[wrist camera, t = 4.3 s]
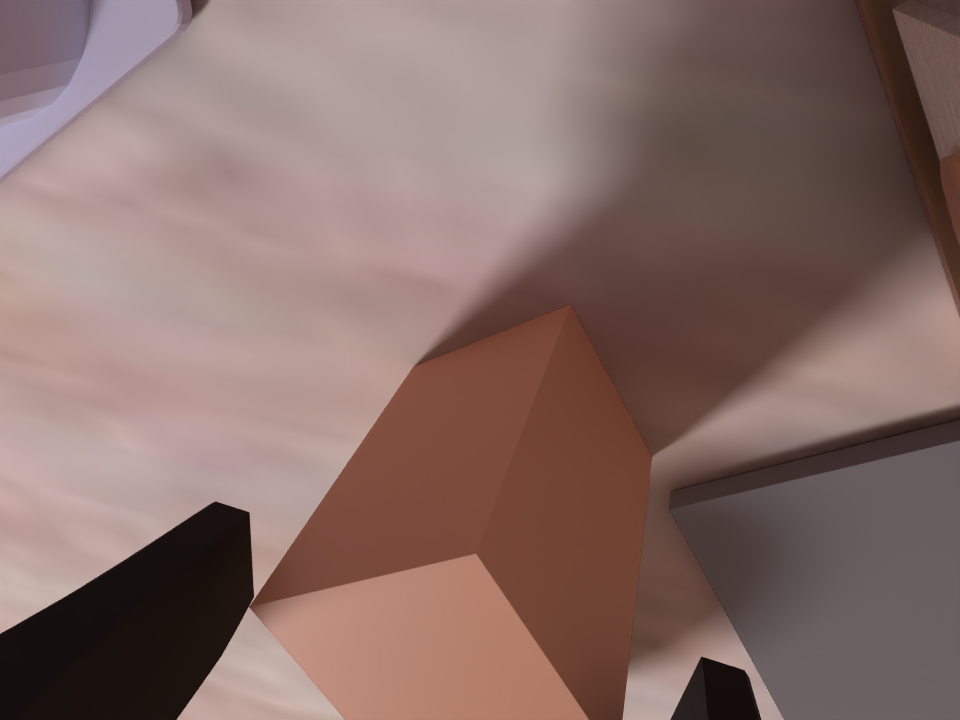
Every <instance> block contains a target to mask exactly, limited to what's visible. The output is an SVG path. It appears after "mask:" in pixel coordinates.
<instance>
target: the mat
mask: <svg viewBox="0 0 960 720" xmlns="http://www.w3.org/2000/svg"><path fill="white" fill-rule="evenodd" d="M669 510H670V512H671V514H672V515H673V517H674V519H675V521H676V523H677V525H678V526H679V528H680V530H681V532H682V534H683V536H684V537H685V539H686V541H687V543H688V545H689V547H690V548H691V550H692V552H693V554H694V556H695V557H696V559H697V561H698V563H699V565H700V567H701V568H702V570H703V572H704V574H705V576H706V578H707V579H708V581H709V583H710V585H711V587H712V589H713V590H714V592H715V594H716V596H717V598H718V600H719V601H720V603H721V605H722V607H723V609H724V610H725V612H726V614H727V616H728V618H729V620H730V621H731V623H732V625H733V627H734V629H735V631H736V632H737V634H738V636H739V638H740V640H741V642H742V643H743V645H744V647H745V649H746V651H747V653H748V654H749V656H750V658H751V660H752V662H753V663H754V665H755V667H756V669H757V671H758V673H759V674H760V676H761V678H762V680H763V682H764V684H765V685H766V687H767V689H768V691H769V693H770V695H771V696H772V698H773V700H774V702H775V704H776V705H777V707H778V709H779V711H780V713H781V715H782V716H783V718H784V720H960V420H956V421H952V422H948V423H944V424H940V425H936V426H932V427H928V428H924V429H920V430H916V431H912V432H908V433H904V434H900V435H896V436H892V437H888V438H884V439H880V440H876V441H872V442H868V443H864V444H860V445H856V446H852V447H848V448H844V449H840V450H836V451H832V452H828V453H824V454H820V455H816V456H812V457H808V458H804V459H800V460H796V461H792V462H788V463H784V464H780V465H776V466H772V467H768V468H764V469H760V470H756V471H752V472H747V473H743V474H739V475H735V476H731V477H727V478H723V479H719V480H715V481H711V482H707V483H703V484H699V485H695V486H691V487H687V488H683V489H679V490H675V491H671V492H670V507H669Z"/></svg>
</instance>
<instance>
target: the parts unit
mask: <svg viewBox="0 0 960 720" xmlns="http://www.w3.org/2000/svg"><path fill="white" fill-rule="evenodd" d="M855 2H856V5H857V8H858V11H859V14H860V17H861V20H862V23H863V26H864V29H865V32H866V35H867V38H868V41H869V44H870V47H871V50H872V53H873V56H874V59H875V62H876V65H877V68H878V71H879V74H880V77H881V80H882V83H883V86H884V89H885V92H886V95H887V98H888V102H889V105H890V108H891V111H892V114H893V117H894V120H895V123H896V126H897V129H898V132H899V135H900V138H901V141H902V144H903V147H904V150H905V153H906V156H907V159H908V162H909V165H910V168H911V171H912V174H913V177H914V180H915V183H916V186H917V189H918V192H919V195H920V198H921V201H922V204H923V207H924V210H925V213H926V216H927V219H928V222H929V225H930V228H931V231H932V234H933V238H934V241H935V244H936V247H937V250H938V253H939V256H940V259H941V262H942V265H943V268H944V271H945V274H946V277H947V280H948V283H949V286H950V289H951V292H952V295H953V298H954V301H955V304H956V307H957V310H958V313H959V316H960V0H855Z"/></svg>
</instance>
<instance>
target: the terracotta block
mask: <svg viewBox="0 0 960 720" xmlns="http://www.w3.org/2000/svg"><path fill="white" fill-rule="evenodd" d="M651 461H652V455H651V454H650V452H649V450H648V448H647V446H646V444H645V442H644V440H643V439H642V437H641V435H640V433H639V431H638V429H637V427H636V426H635V424H634V422H633V420H632V418H631V416H630V414H629V413H628V411H627V409H626V407H625V405H624V403H623V401H622V399H621V398H620V396H619V394H618V392H617V390H616V388H615V386H614V385H613V383H612V381H611V379H610V377H609V375H608V373H607V372H606V370H605V368H604V366H603V364H602V362H601V360H600V359H599V357H598V355H597V353H596V351H595V349H594V347H593V345H592V344H591V342H590V340H589V338H588V336H587V334H586V332H585V331H584V329H583V327H582V325H581V323H580V321H579V319H578V318H577V316H576V314H575V312H574V310H573V308H572V306H571V304H570V305H567V306H565V307H562V308H560V309H557V310H555V311H552V312H549V313H547V314H544V315H542V316H539V317H537V318H534V319H532V320H529V321H527V322H524V323H522V324H519V325H517V326H514V327H512V328H509V329H507V330H504V331H502V332H499V333H497V334H494V335H492V336H489V337H487V338H484V339H482V340H479V341H477V342H474V343H472V344H469V345H467V346H464V347H462V348H459V349H457V350H454V351H452V352H449V353H447V354H444V355H442V356H439V357H437V358H434V359H432V360H429V361H427V362H424V363H422V364H419V365H416V366H414V367H413V368H412V370H411V371H410V373H409V374H408V375H407V377H406V378H405V380H404V381H403V383H402V384H401V386H400V387H399V389H398V390H397V392H396V393H395V394H394V396H393V397H392V399H391V400H390V402H389V403H388V405H387V406H386V408H385V409H384V411H383V412H382V414H381V415H380V416H379V418H378V419H377V421H376V422H375V424H374V425H373V427H372V428H371V430H370V431H369V433H368V434H367V435H366V437H365V438H364V440H363V441H362V443H361V444H360V446H359V447H358V449H357V450H356V452H355V453H354V454H353V456H352V457H351V459H350V460H349V462H348V463H347V465H346V466H345V468H344V469H343V471H342V472H341V474H340V475H339V476H338V478H337V479H336V481H335V482H334V484H333V485H332V487H331V488H330V490H329V491H328V493H327V494H326V495H325V497H324V498H323V500H322V501H321V503H320V504H319V506H318V507H317V509H316V510H315V512H314V513H313V514H312V516H311V517H310V519H309V520H308V522H307V523H306V525H305V526H304V528H303V529H302V531H301V532H300V533H299V535H298V536H297V538H296V539H295V541H294V542H293V544H292V545H291V547H290V548H289V550H288V551H287V553H286V554H285V555H284V557H283V558H282V560H281V561H280V563H279V564H278V566H277V567H276V569H275V570H274V572H273V573H272V574H271V576H270V577H269V579H268V580H267V582H266V583H265V585H264V586H263V588H262V589H261V591H260V592H259V593H258V595H257V596H256V598H255V599H254V601H253V602H252V604H251V605H250V609H251V610H252V611H253V612H254V613H255V614H256V616H257V617H258V618H259V619H260V620H261V621H262V623H263V624H264V625H265V626H266V627H267V629H268V630H269V631H270V632H271V633H272V634H273V636H274V637H275V638H276V639H277V640H278V641H279V643H280V644H281V645H282V646H283V647H284V648H285V650H286V651H287V652H288V653H289V654H290V656H291V657H292V658H293V659H294V660H295V661H296V663H297V664H298V665H299V666H300V667H301V668H302V670H303V671H304V672H305V673H306V674H307V676H308V677H309V678H310V679H311V680H312V681H313V683H314V684H315V685H316V686H317V687H318V688H319V690H320V691H321V692H322V693H323V694H324V695H325V697H326V698H327V699H328V700H329V701H330V703H331V704H332V705H333V706H334V707H335V708H336V710H337V711H338V712H339V713H340V714H341V715H342V717H343V718H344V719H345V720H622V718H623V709H624V700H625V692H626V683H627V674H628V665H629V656H630V647H631V638H632V630H633V621H634V612H635V603H636V594H637V585H638V577H639V568H640V559H641V550H642V541H643V532H644V523H645V515H646V506H647V497H648V488H649V479H650V470H651Z"/></svg>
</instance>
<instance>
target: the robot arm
mask: <svg viewBox="0 0 960 720" xmlns="http://www.w3.org/2000/svg"><path fill="white" fill-rule="evenodd" d="M191 17H192V6H191V0H0V183H1V182H2V181H3V180H4V179H5V178H7V177H8V176H9V175H10V174H11V173H13V172H14V171H15V170H16V169H18V168H19V167H20V166H21V165H22V164H24V163H25V162H26V161H27V160H28V159H30V158H31V157H32V156H33V155H35V154H36V153H37V152H38V151H39V150H41V149H42V148H43V147H44V146H45V145H47V144H48V143H49V142H50V141H51V140H53V139H54V138H55V137H56V136H58V135H59V134H60V133H61V132H62V131H64V130H65V129H66V128H67V127H68V126H70V125H71V124H72V123H73V122H75V121H76V120H77V119H78V118H79V117H81V116H82V115H83V114H84V113H85V112H87V111H88V110H89V109H90V108H92V107H93V106H94V105H95V104H96V103H98V102H99V101H100V100H101V99H102V98H104V97H105V96H106V95H107V94H109V93H110V92H111V91H112V90H113V89H115V88H116V87H117V86H118V85H119V84H121V83H122V82H123V81H124V80H126V79H127V78H128V77H129V76H130V75H132V74H133V73H134V72H135V71H136V70H138V69H139V68H140V67H141V66H142V65H144V64H145V63H146V62H147V61H149V60H150V59H151V58H152V57H153V56H155V55H156V54H157V53H158V52H159V51H161V50H162V49H163V48H164V47H166V46H167V45H168V44H169V43H170V42H172V41H173V40H174V39H175V38H176V37H178V36H179V35H180V34H181V33H183V32H184V31H185V30H186V28H187V27H188V26H189V24H190V22H191ZM253 598H254V589H253V570H252V551H251V533H250V514H249V512H247V511H244V510H240V509H237V508H234V507H231V506H228V505H225V504H222V503H219V502H214V503H212V504H210V505H208V506H207V507H205V508H204V509H202V510H201V511H199V512H197V513H196V514H194V515H193V516H191V517H190V518H188V519H187V520H185V521H184V522H182V523H181V524H179V525H178V526H176V527H175V528H173V529H172V530H170V531H169V532H167V533H166V534H164V535H162V536H161V537H159V538H158V539H156V540H155V541H153V542H152V543H150V544H149V545H147V546H146V547H144V548H143V549H141V550H139V551H138V552H136V553H135V554H133V555H132V556H130V557H129V558H127V559H126V560H124V561H122V562H121V563H119V564H118V565H116V566H114V567H113V568H111V569H110V570H108V571H106V572H105V573H103V574H102V575H100V576H98V577H97V578H95V579H94V580H92V581H90V582H89V583H87V584H86V585H84V586H82V587H81V588H79V589H77V590H76V591H74V592H72V593H71V594H69V595H67V596H66V597H64V598H62V599H61V600H59V601H57V602H55V603H54V604H52V605H50V606H48V607H47V608H45V609H43V610H41V611H40V612H38V613H36V614H34V615H33V616H31V617H29V618H27V619H26V620H24V621H22V622H20V623H19V624H17V625H15V626H13V627H12V628H10V629H8V630H6V631H4V632H3V633H1V634H0V720H177V718H178V717H179V715H180V714H181V713H182V711H183V710H184V708H185V707H186V706H187V704H188V703H189V701H190V700H191V699H192V697H193V696H194V694H195V693H196V691H197V690H198V689H199V687H200V686H201V684H202V683H203V681H204V680H205V679H206V677H207V676H208V674H209V673H210V672H211V670H212V669H213V667H214V666H215V664H216V663H217V661H218V660H219V659H220V657H221V656H222V654H223V652H224V650H225V649H226V647H227V645H228V643H229V642H230V640H231V638H232V636H233V635H234V633H235V631H236V629H237V627H238V626H239V624H240V622H241V620H242V618H243V616H244V614H245V613H246V611H247V609H248V607H249V605H250V603H251V601H252V600H253ZM671 720H761V717H760V714H759V710H758V707H757V704H756V700H755V697H754V693H753V690H752V686H751V682H750V679H749V677H748V675H747V674H746V672H745V670H742V669H739V668H736V667H732V666H729V665H726V664H723V663H720V662H717V661H714V660H710V659H707V658H704V657H701V658H700V661H699V663H698V665H697V667H696V669H695V671H694V673H693V675H692V677H691V679H690V681H689V683H688V685H687V687H686V689H685V691H684V693H683V695H682V697H681V699H680V701H679V703H678V705H677V708H676V710H675V712H674V714H673V716H672V718H671Z"/></svg>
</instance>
